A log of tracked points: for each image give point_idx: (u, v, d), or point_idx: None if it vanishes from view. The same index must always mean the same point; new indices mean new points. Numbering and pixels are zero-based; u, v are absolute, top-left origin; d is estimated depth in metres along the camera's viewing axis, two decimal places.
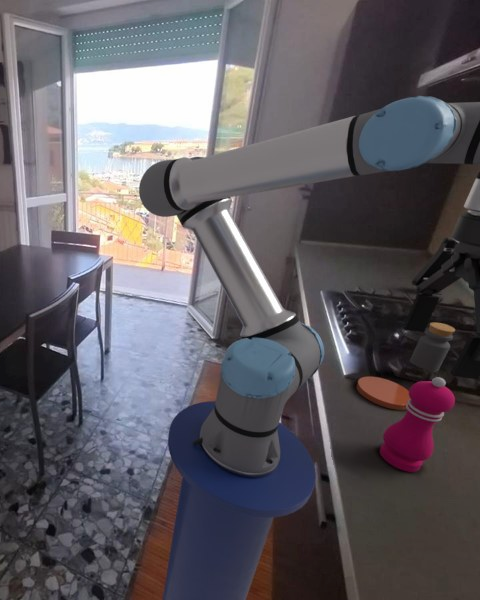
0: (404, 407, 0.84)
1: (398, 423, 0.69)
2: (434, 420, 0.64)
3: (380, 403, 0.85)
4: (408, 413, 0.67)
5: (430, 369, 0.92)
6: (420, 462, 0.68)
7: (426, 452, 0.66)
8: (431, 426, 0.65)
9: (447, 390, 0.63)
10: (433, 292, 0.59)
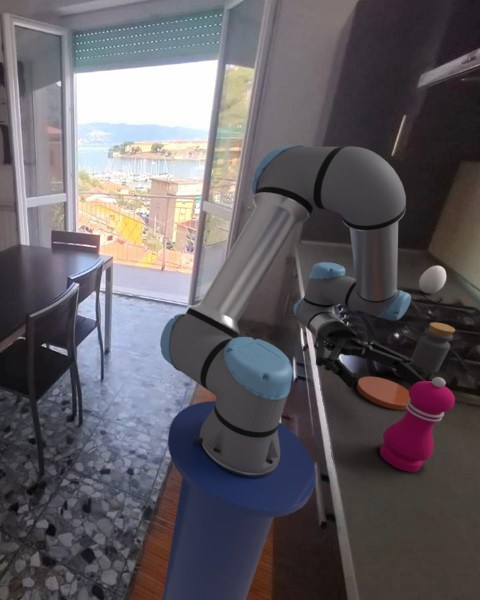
0: (404, 407, 0.84)
1: (398, 423, 0.69)
2: (434, 420, 0.64)
3: (380, 403, 0.85)
4: (408, 413, 0.67)
5: (430, 369, 0.92)
6: (420, 462, 0.68)
7: (426, 452, 0.66)
8: (431, 426, 0.65)
9: (447, 390, 0.63)
10: None
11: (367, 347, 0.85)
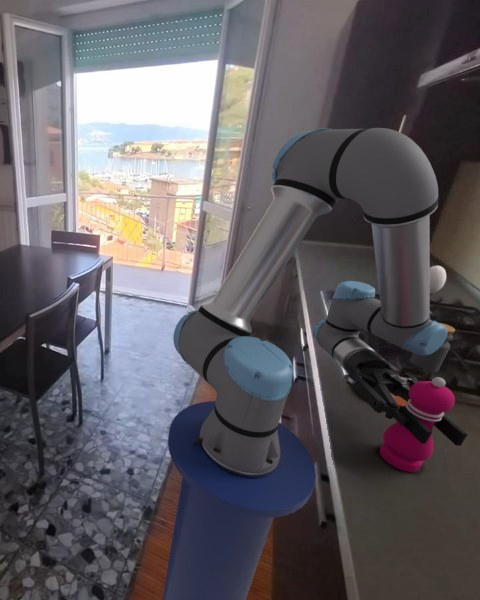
0: None
1: (398, 423, 0.69)
2: (434, 420, 0.64)
3: None
4: None
5: (430, 369, 0.92)
6: (420, 462, 0.68)
7: (426, 452, 0.66)
8: (431, 426, 0.65)
9: (447, 390, 0.63)
10: None
11: (399, 383, 0.74)
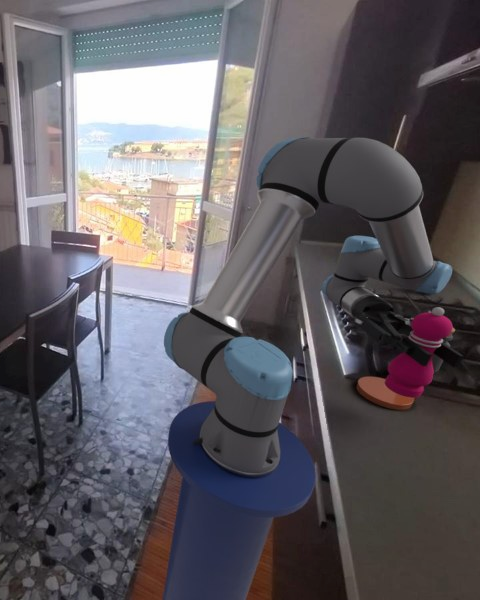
0: (404, 407, 0.84)
1: (401, 354, 0.76)
2: (434, 346, 0.71)
3: (380, 403, 0.85)
4: None
5: None
6: (422, 388, 0.76)
7: (426, 377, 0.73)
8: (431, 353, 0.72)
9: (445, 318, 0.70)
10: None
11: (403, 321, 0.81)
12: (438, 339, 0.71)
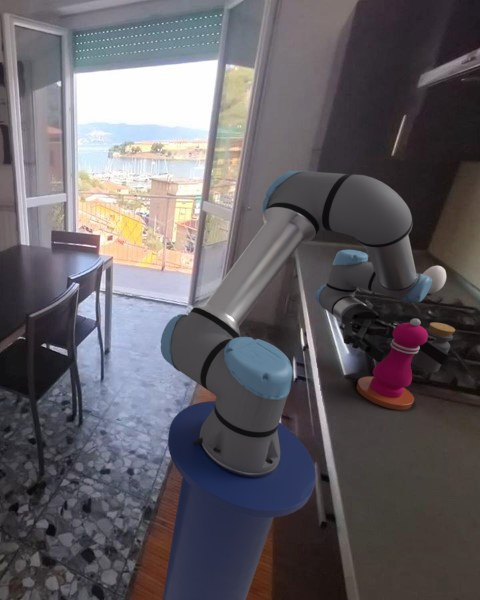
0: (404, 407, 0.84)
1: (384, 359, 0.86)
2: (412, 352, 0.81)
3: (380, 403, 0.85)
4: (392, 349, 0.84)
5: (430, 369, 0.92)
6: (402, 390, 0.85)
7: (406, 379, 0.83)
8: (410, 358, 0.82)
9: (422, 328, 0.80)
10: None
11: (391, 327, 0.91)
12: (415, 346, 0.80)
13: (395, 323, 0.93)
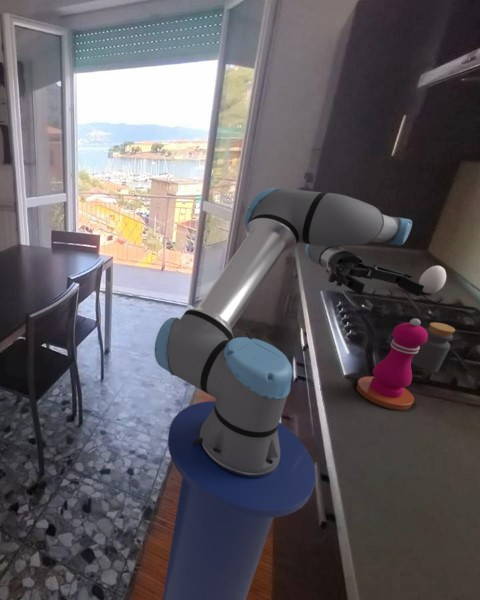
0: (404, 407, 0.84)
1: (384, 359, 0.86)
2: (412, 352, 0.81)
3: (380, 403, 0.85)
4: (392, 349, 0.84)
5: (430, 369, 0.92)
6: (402, 390, 0.85)
7: (406, 379, 0.83)
8: (410, 358, 0.82)
9: (422, 328, 0.80)
10: None
11: (373, 268, 0.98)
12: (415, 346, 0.80)
13: (377, 266, 1.00)
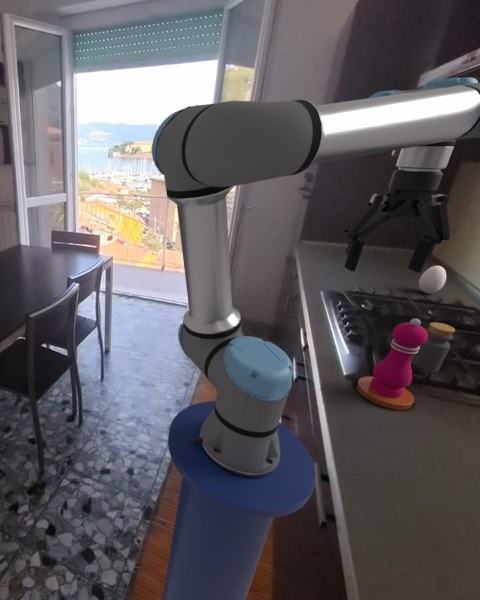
0: (404, 407, 0.84)
1: (384, 359, 0.86)
2: (412, 352, 0.81)
3: (380, 403, 0.85)
4: (392, 349, 0.84)
5: (430, 369, 0.92)
6: (402, 390, 0.85)
7: (406, 379, 0.83)
8: (410, 358, 0.82)
9: (422, 328, 0.80)
10: None
11: (421, 217, 0.73)
12: (415, 346, 0.80)
13: (442, 202, 0.72)
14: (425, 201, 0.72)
